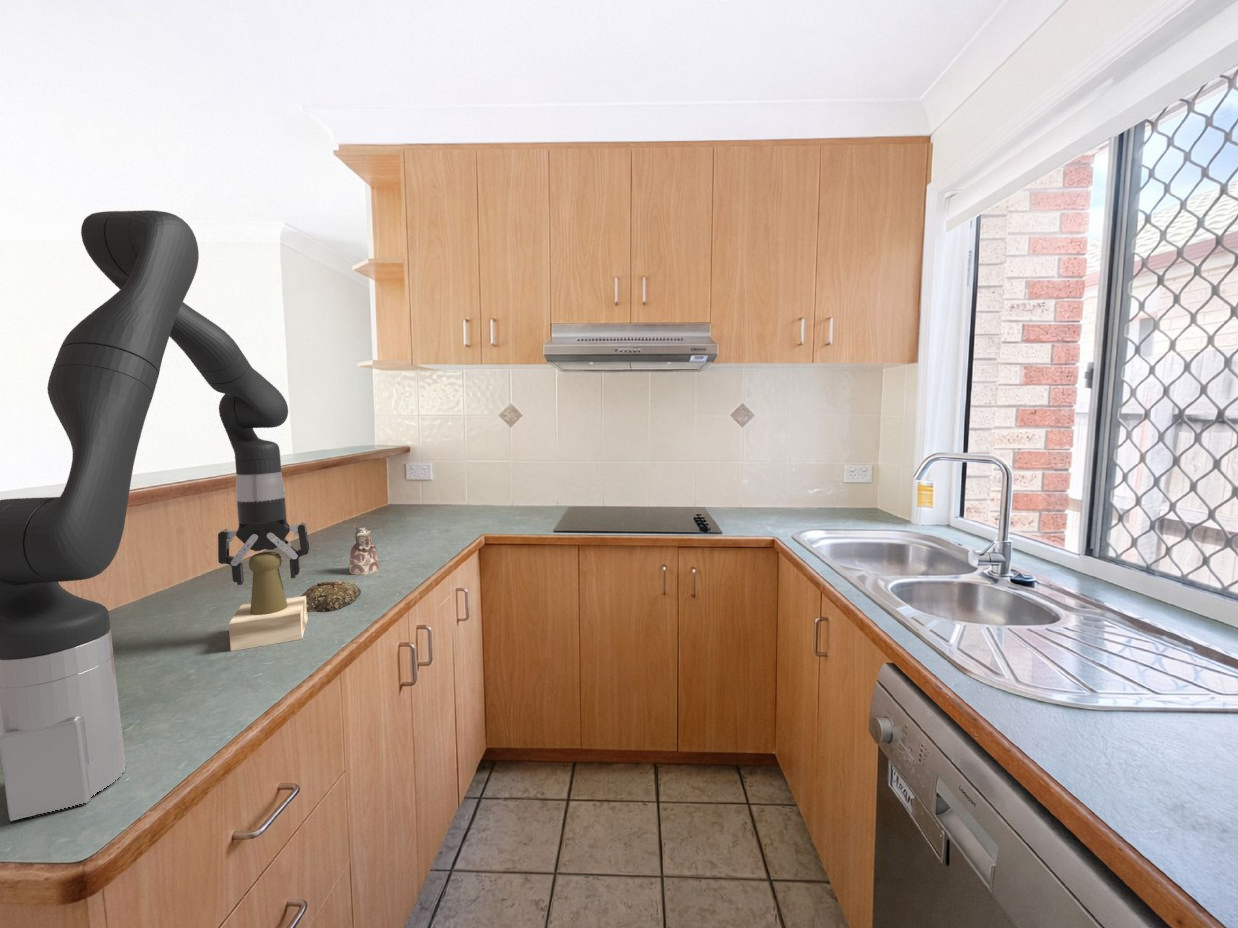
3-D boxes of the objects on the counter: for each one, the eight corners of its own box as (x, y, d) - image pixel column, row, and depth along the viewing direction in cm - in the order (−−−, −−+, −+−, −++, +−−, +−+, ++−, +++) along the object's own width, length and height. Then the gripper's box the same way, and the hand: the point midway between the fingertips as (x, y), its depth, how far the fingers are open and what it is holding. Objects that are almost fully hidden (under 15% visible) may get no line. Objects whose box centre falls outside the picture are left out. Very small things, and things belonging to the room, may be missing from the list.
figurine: (353, 576, 138) (350, 531, 137) (346, 570, 143) (343, 527, 142) (382, 571, 143) (379, 527, 142) (374, 565, 148) (371, 523, 147)
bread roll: (368, 593, 126) (367, 573, 125) (340, 613, 113) (339, 590, 113) (315, 594, 126) (313, 573, 125) (281, 613, 113) (279, 591, 113)
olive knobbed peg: (269, 615, 98) (264, 557, 97) (241, 613, 99) (237, 556, 98) (295, 604, 104) (291, 549, 103) (269, 602, 105) (264, 548, 104)
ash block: (302, 639, 99) (300, 613, 99) (230, 651, 95) (228, 624, 94) (307, 618, 109) (306, 595, 109) (243, 628, 105) (241, 604, 104)
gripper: (209, 502, 93) (217, 592, 95) (302, 496, 99) (308, 580, 101) (219, 497, 100) (227, 580, 101) (306, 491, 106) (312, 570, 107)
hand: (267, 580), depth 101 cm, fingers open, 8 cm apart
